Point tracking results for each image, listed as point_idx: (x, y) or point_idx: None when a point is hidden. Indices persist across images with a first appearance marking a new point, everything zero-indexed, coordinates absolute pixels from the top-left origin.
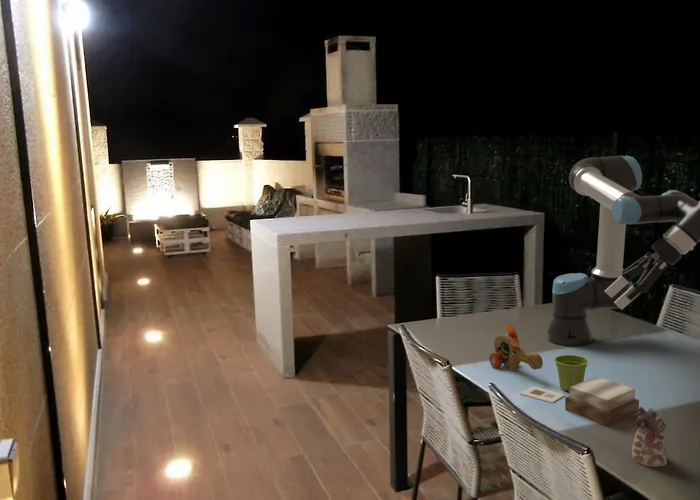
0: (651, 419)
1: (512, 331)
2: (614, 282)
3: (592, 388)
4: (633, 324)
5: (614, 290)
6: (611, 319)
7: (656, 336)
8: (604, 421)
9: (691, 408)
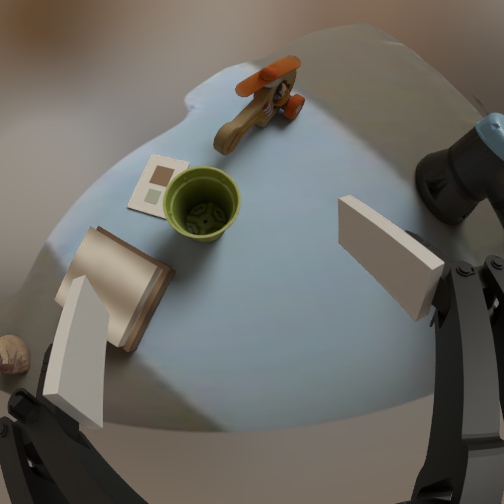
0: None
1: (266, 69)
2: (389, 230)
3: (92, 267)
4: None
5: (360, 245)
6: None
7: None
8: None
9: (193, 428)
